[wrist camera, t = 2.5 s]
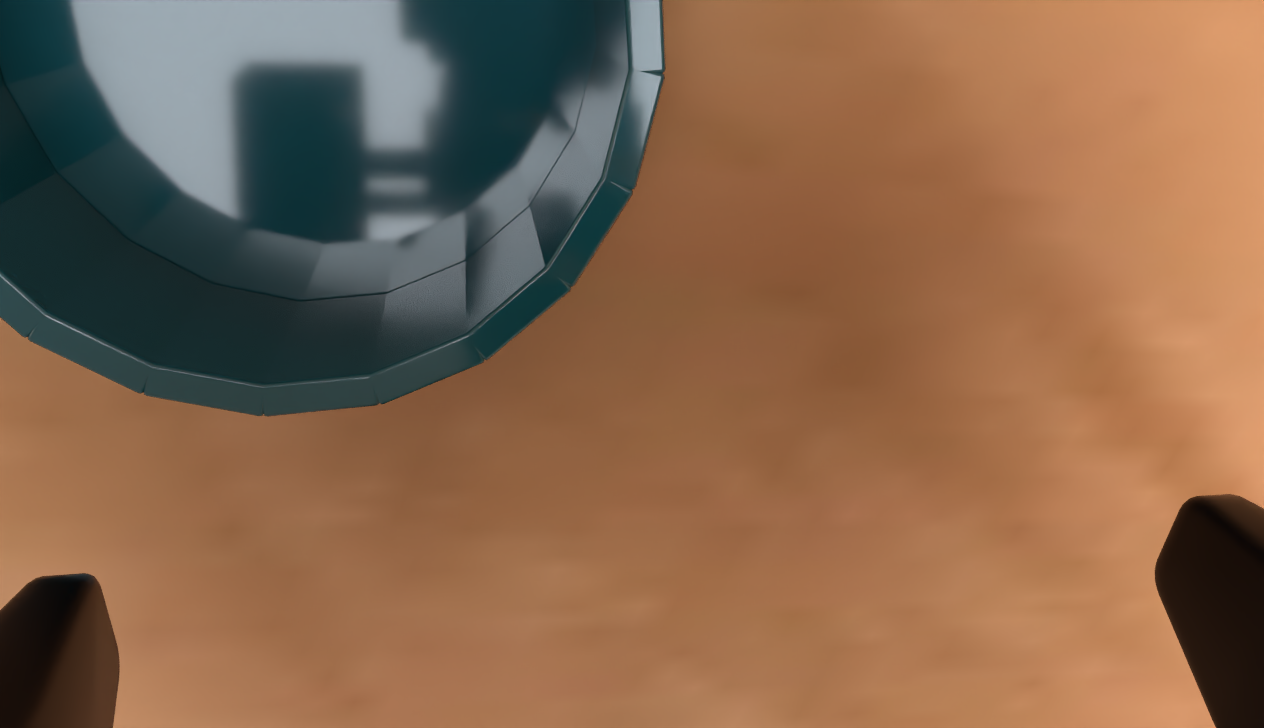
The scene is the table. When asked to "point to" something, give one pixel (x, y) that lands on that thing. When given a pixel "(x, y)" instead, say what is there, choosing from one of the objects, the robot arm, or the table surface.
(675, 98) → the table surface
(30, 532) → the table surface
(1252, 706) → the robot arm
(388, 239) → the teal bowl
